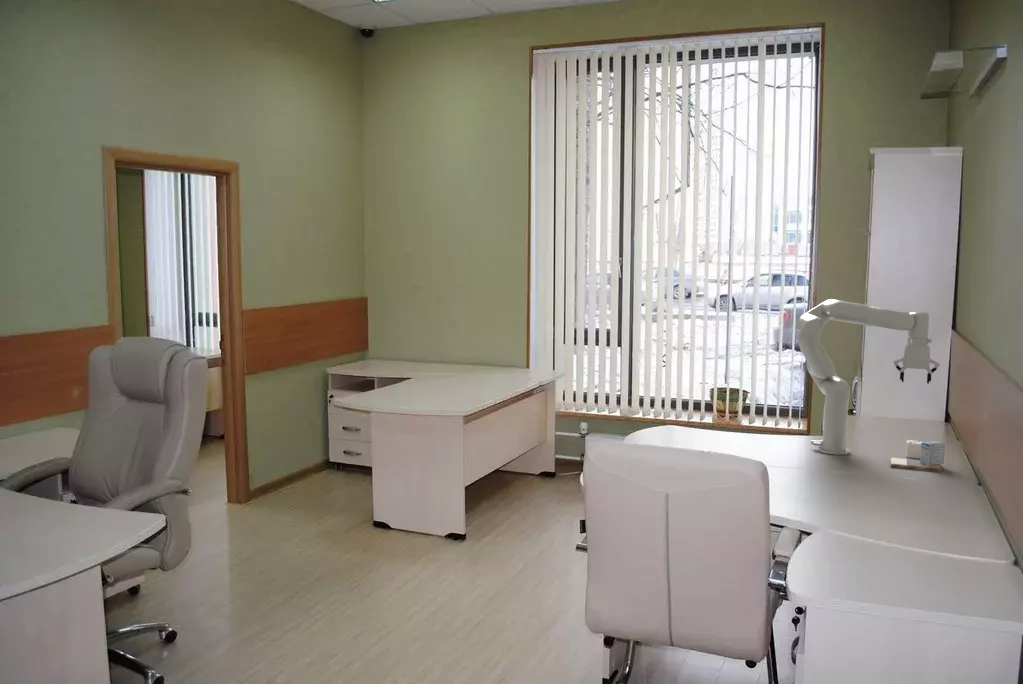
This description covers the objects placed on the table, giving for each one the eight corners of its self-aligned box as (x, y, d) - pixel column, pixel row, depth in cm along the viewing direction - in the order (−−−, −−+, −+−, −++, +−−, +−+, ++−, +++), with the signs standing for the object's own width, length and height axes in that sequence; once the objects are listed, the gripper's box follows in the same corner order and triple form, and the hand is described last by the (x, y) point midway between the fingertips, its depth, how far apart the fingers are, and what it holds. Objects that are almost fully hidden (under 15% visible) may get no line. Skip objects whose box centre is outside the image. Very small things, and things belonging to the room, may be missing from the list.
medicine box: (934, 461, 343) (936, 440, 342) (944, 464, 339) (945, 443, 338) (919, 463, 340) (920, 442, 339) (928, 466, 336) (929, 444, 335)
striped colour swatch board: (890, 467, 340) (890, 464, 339) (890, 460, 351) (890, 456, 350) (941, 472, 332) (941, 468, 332) (939, 464, 343) (939, 461, 343)
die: (906, 457, 355) (907, 442, 355) (906, 453, 361) (906, 439, 360) (922, 458, 353) (923, 444, 352) (921, 455, 359) (922, 441, 358)
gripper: (940, 341, 356) (937, 382, 358) (894, 339, 363) (892, 379, 365) (941, 343, 349) (938, 385, 351) (894, 341, 356) (892, 382, 358)
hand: (915, 382), depth 358 cm, fingers open, 9 cm apart
